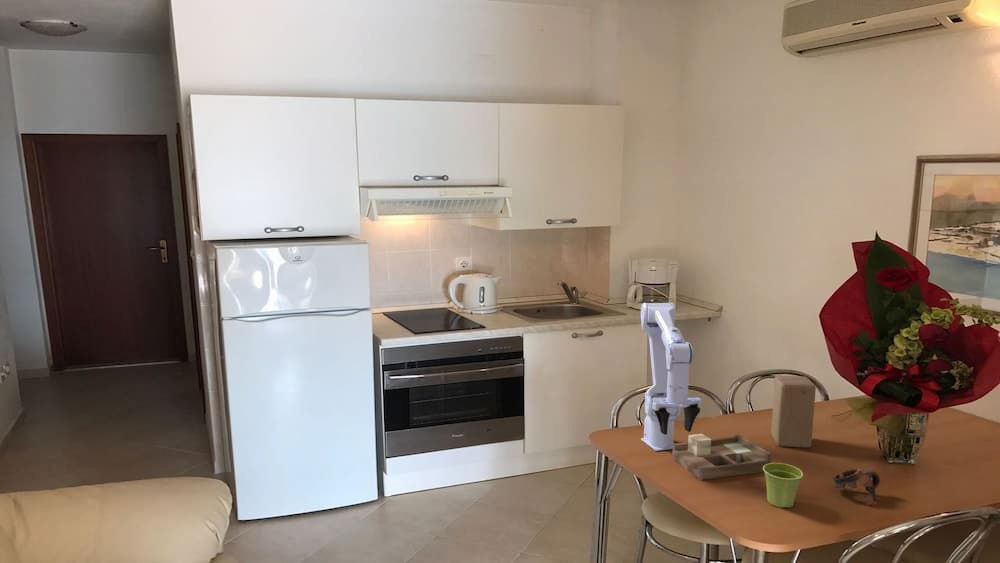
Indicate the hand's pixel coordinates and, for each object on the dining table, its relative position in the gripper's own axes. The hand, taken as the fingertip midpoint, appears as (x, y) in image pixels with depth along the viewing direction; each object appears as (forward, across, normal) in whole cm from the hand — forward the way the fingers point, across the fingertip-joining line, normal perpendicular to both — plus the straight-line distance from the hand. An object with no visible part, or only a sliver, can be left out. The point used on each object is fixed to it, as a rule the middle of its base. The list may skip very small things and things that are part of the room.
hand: (675, 432), depth 195 cm
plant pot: (+10, +14, -27) cm, 33 cm away
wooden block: (+10, +44, +6) cm, 45 cm away
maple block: (+7, +8, 0) cm, 11 cm away
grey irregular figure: (+11, +36, -30) cm, 48 cm away
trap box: (+10, +13, -3) cm, 17 cm away
